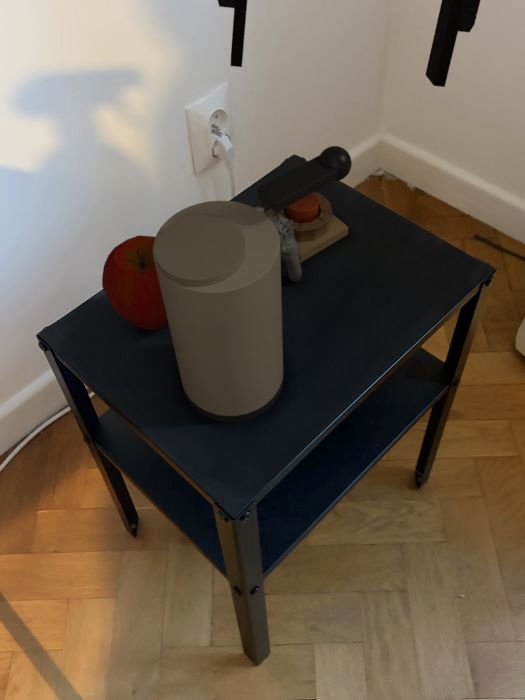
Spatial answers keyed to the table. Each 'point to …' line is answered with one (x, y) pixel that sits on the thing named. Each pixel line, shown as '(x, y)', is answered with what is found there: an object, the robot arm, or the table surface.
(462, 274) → the table surface
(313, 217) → the button
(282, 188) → the switch
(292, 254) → the grey toy figure
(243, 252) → the beige cylinder
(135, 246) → the apple
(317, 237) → the button base
